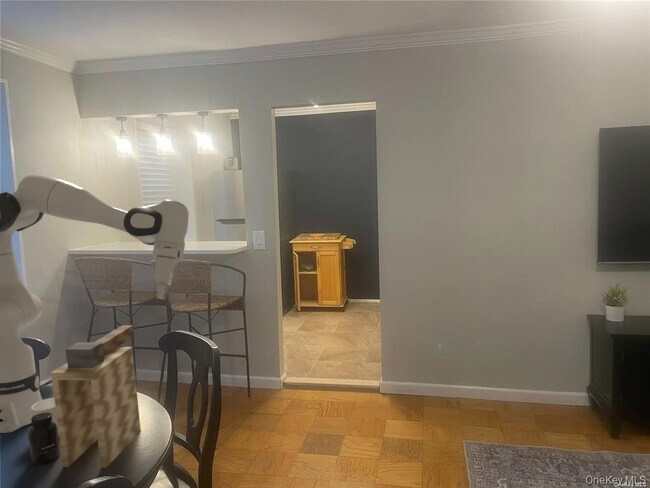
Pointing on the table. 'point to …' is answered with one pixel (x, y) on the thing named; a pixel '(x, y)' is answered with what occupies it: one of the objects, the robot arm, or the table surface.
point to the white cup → (46, 408)
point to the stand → (97, 407)
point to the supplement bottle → (43, 439)
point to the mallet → (97, 348)
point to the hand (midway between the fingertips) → (161, 299)
